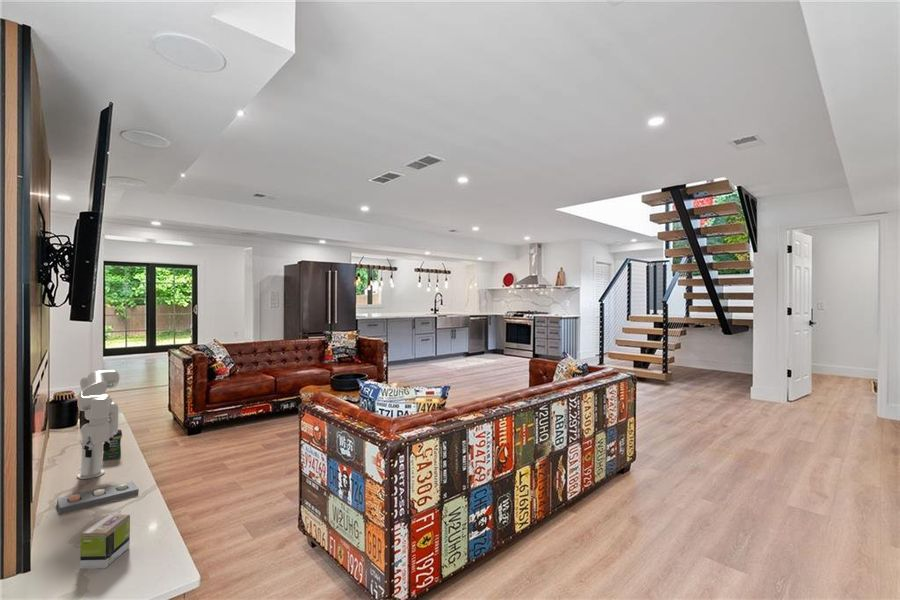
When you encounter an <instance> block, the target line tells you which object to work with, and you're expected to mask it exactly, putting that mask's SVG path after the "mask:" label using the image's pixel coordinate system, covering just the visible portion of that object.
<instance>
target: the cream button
mask: <svg viewBox="0 0 900 600" xmlns="http://www.w3.org/2000/svg"><path fill="white" fill-rule="evenodd" d="M97 489H98V490H96V489H94V490H95V491H94V496H99V495H103V494H104V491H105V490H104V489H100V488H97Z"/></svg>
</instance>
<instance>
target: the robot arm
mask: <svg viewBox="0 0 900 600" xmlns="http://www.w3.org/2000/svg"><path fill="white" fill-rule="evenodd" d="M79 381H80V382H79V385H80V388H81V390H80V392H79V393H78V395H77V408H78V410H79V411H80V412H81V411H83V412H84V418H85V419H86V420H88V421H89V422H87V423H84V424H83V425H82V426H81V427H80V437H81V443H80V446H81V459H80V461H81V463H80V464H81V465H80V473H78V474H77V475H76V477H77V479H80V480H88V479H93V478H97V477H100V476H102V475H104V474H105V469H102V462H103V452H104V451H107V452H108V451H109V446H110V443H111V441H112V439H113V436H114V435H115V434H116V433H117V431H118V430H119V405H118V403H117V402H114V401H113V397H112V396H111V395H110V394H104V393H106V391H108V390H112V389H114V388H117V387H118V384H119V382H120V374H119V372H118V371H117V370H116V369H107V370H95V371H92V372H90V373H88V375H87V376H84V377H82V378H81V379H80V380H79Z"/></svg>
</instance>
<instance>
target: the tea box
mask: <svg viewBox="0 0 900 600" xmlns="http://www.w3.org/2000/svg"><path fill="white" fill-rule="evenodd" d="M130 533H131V514H107V515H105V516H104V517H102V518H100V519H99V520H98V521H96V522H95V523H94V524H92V525H91V526H89V527H88V528H87V529H85V530H84V531H83V532H81V533H80V550H79V551H80V553H79V556H80V558H79V559H80V561H79V565H80V566H79V568H80V569H81V570H88V569H89V570H91V569H97V570H99V569H98V568H101V569H106V568H108V567H109V566H110V565H111V564H112V563H114V561H116V559H118V558H119V557H120V556H121V555H122V554H124V553H125V552H126V551H127V550H129V548H130V544H131V542H130V541H131V539H130V538H131V537H130V536H131V534H130ZM109 564H110V565H109Z"/></svg>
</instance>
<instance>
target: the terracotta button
mask: <svg viewBox="0 0 900 600" xmlns="http://www.w3.org/2000/svg"><path fill="white" fill-rule="evenodd" d="M71 495H72V496H70V495H69V496H70V497H69V502H73V501H78V500H80V495H74V494H71Z"/></svg>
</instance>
